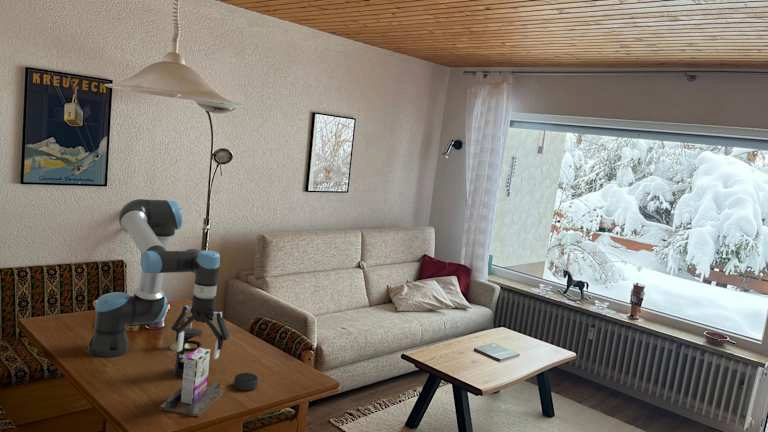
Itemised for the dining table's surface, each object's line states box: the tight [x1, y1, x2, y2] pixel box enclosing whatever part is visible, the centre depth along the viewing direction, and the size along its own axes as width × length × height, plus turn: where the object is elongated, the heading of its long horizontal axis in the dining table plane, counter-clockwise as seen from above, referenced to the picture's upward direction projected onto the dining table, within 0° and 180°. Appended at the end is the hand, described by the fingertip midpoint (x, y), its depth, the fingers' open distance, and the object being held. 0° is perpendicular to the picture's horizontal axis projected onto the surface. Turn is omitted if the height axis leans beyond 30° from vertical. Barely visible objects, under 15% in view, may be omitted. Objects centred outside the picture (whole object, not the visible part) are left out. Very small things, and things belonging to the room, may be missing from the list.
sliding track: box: [159, 381, 225, 418], centre depth 206 cm, size 14×21×4 cm, turn 172°
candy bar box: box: [181, 347, 212, 405], centre depth 205 cm, size 11×5×16 cm, turn 172°
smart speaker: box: [233, 372, 259, 392], centre depth 223 cm, size 9×9×4 cm
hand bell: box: [169, 315, 191, 352], centre depth 251 cm, size 8×8×16 cm
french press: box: [172, 315, 204, 379], centre depth 226 cm, size 12×9×23 cm
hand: (197, 354), depth 204 cm, fingers open, 13 cm apart
